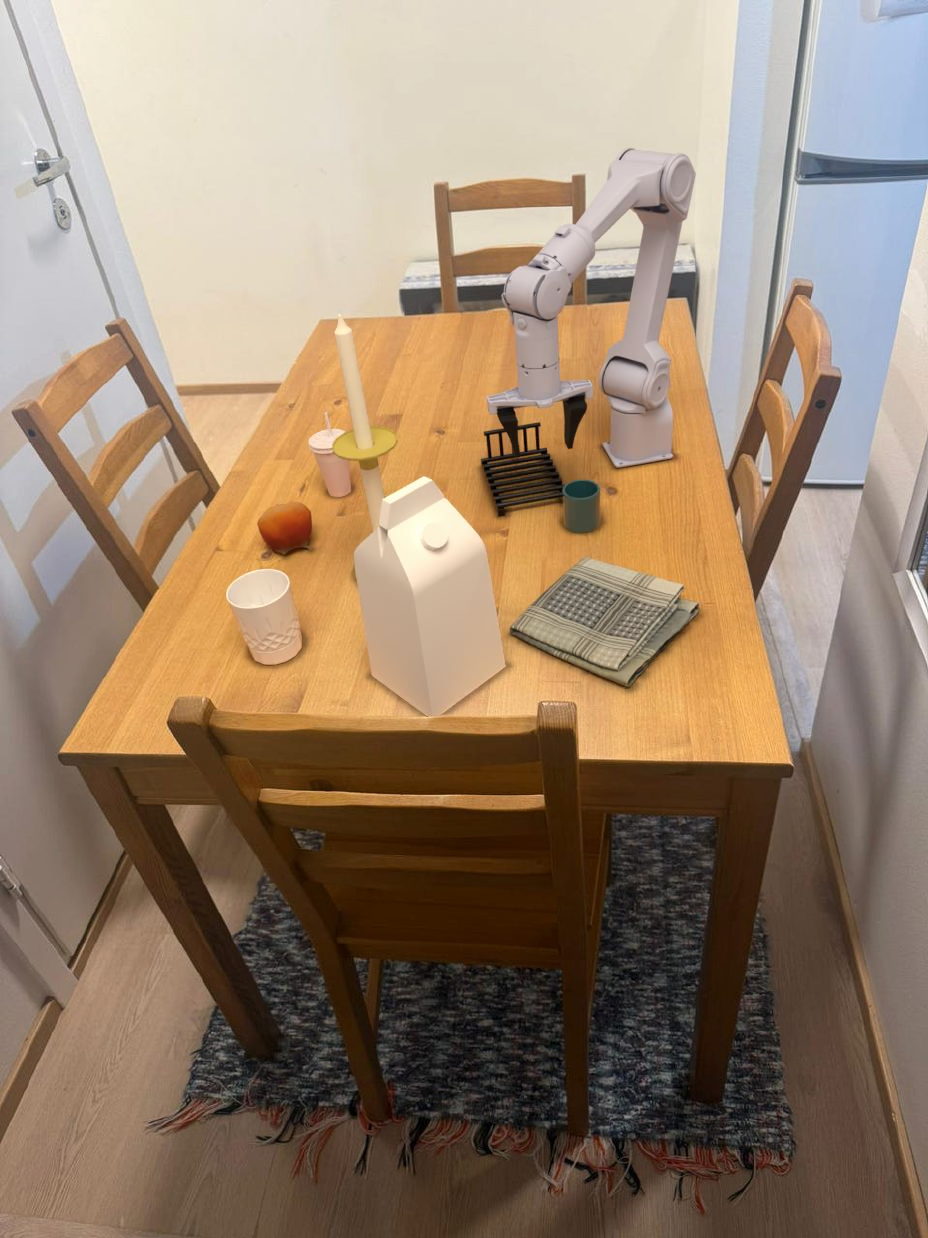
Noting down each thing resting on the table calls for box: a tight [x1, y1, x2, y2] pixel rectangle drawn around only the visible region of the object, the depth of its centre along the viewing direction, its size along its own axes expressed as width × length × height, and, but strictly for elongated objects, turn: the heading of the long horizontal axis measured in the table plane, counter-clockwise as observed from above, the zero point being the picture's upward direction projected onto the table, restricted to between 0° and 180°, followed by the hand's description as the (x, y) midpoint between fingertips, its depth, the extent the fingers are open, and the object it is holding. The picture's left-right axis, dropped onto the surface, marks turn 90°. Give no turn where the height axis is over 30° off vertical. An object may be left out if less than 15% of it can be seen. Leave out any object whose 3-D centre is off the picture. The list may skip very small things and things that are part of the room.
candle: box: [332, 309, 398, 581], centre depth 113 cm, size 10×10×38 cm
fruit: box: [256, 500, 313, 556], centre depth 131 cm, size 8×8×8 cm
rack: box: [480, 421, 566, 517], centre depth 137 cm, size 11×15×7 cm
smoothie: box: [307, 411, 352, 498], centre depth 139 cm, size 6×6×14 cm
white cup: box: [225, 568, 303, 666], centre depth 111 cm, size 8×8×10 cm
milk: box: [353, 475, 507, 717], centre depth 100 cm, size 12×12×26 cm
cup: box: [562, 478, 601, 534], centre depth 127 cm, size 5×5×6 cm
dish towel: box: [509, 556, 700, 688], centre depth 110 cm, size 19×18×3 cm
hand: (542, 450), depth 126 cm, fingers open, 7 cm apart
